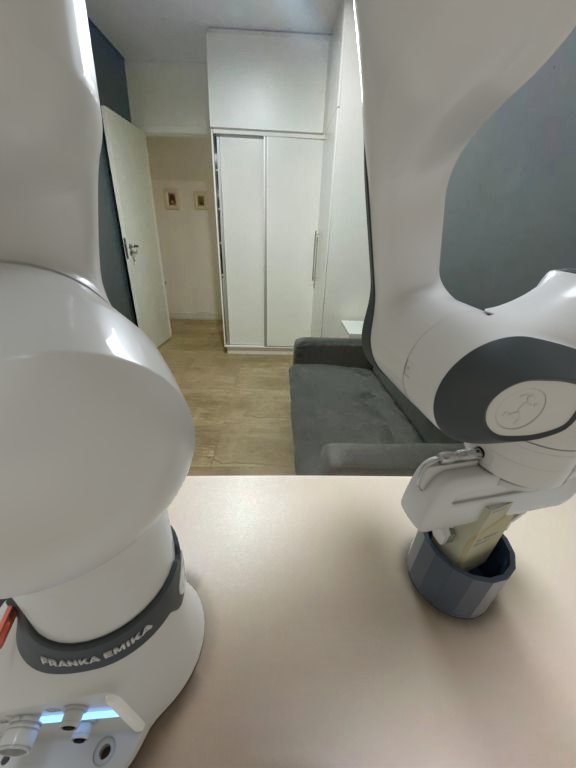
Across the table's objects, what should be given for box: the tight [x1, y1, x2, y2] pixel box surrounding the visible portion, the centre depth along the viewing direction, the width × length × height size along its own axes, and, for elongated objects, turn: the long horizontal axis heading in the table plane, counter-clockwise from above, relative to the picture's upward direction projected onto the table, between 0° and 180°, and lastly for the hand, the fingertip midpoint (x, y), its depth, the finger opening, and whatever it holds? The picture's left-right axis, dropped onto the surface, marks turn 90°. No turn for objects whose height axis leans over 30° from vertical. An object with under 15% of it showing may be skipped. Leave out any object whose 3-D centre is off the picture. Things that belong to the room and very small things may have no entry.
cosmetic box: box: [431, 502, 514, 572], centre depth 37 cm, size 6×4×12 cm
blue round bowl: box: [406, 528, 517, 619], centre depth 40 cm, size 10×10×8 cm
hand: (468, 532), depth 37 cm, fingers closed on cosmetic box, 6 cm apart
